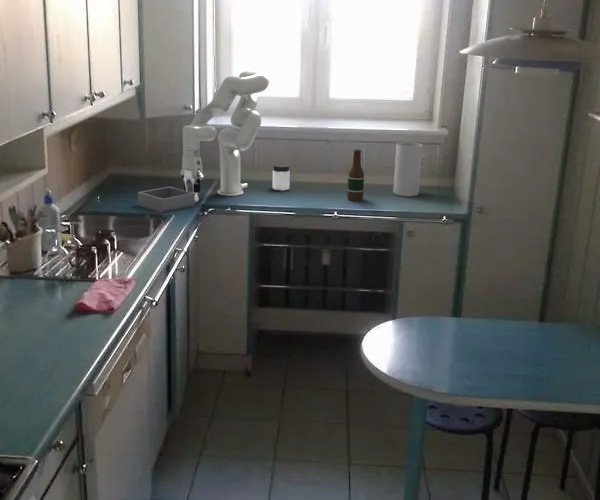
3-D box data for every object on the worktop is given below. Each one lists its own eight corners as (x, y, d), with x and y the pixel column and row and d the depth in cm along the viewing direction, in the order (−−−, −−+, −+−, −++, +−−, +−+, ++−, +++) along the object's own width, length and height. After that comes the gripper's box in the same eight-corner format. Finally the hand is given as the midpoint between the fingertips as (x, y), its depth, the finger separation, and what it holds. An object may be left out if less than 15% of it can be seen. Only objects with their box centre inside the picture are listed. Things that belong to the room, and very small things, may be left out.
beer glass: (196, 202, 350) (196, 170, 346) (182, 201, 352) (182, 169, 347) (201, 199, 357) (201, 167, 352) (187, 198, 358) (187, 166, 354)
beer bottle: (366, 200, 364) (368, 150, 357) (352, 201, 360) (355, 151, 353) (356, 196, 370) (359, 147, 363) (343, 198, 366) (345, 149, 359)
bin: (170, 199, 356) (169, 186, 354) (194, 206, 344) (194, 193, 343) (138, 205, 343) (137, 192, 341) (162, 212, 332) (162, 199, 330)
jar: (271, 186, 386) (271, 163, 382) (286, 186, 387) (287, 163, 384) (274, 190, 377) (275, 167, 374) (290, 190, 379) (291, 166, 376)
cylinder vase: (423, 195, 376) (427, 145, 368) (402, 197, 370) (405, 147, 363) (409, 190, 386) (412, 141, 379) (388, 192, 381) (391, 142, 373)
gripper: (210, 154, 345) (210, 193, 350) (185, 149, 356) (186, 186, 361) (197, 156, 339) (197, 195, 345) (173, 151, 350) (174, 188, 356)
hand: (192, 190), depth 353 cm, fingers closed on beer glass, 6 cm apart
